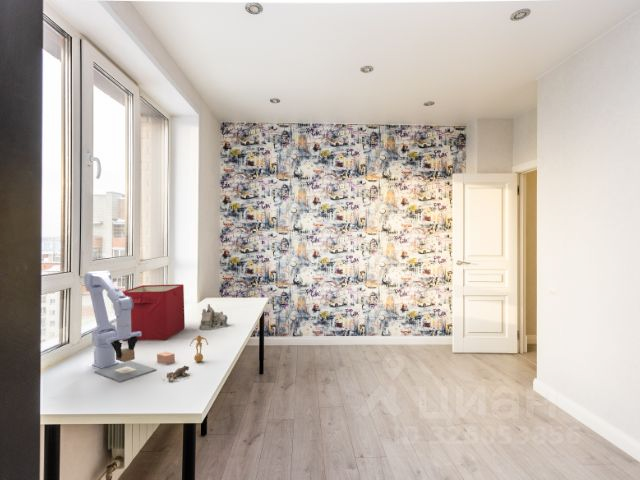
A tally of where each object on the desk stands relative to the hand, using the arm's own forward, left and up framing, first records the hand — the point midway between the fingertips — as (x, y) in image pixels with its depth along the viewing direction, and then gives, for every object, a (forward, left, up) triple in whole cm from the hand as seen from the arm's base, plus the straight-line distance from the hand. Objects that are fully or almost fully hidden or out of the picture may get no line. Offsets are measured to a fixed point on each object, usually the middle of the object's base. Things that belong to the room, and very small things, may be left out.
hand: (125, 356), depth 166 cm
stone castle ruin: (-32, +74, -7) cm, 81 cm away
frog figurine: (+26, +8, -8) cm, 28 cm away
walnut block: (0, 0, -2) cm, 2 cm away
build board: (0, 0, -7) cm, 7 cm away
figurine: (+17, +26, -7) cm, 32 cm away
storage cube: (-49, +44, -7) cm, 66 cm away
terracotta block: (+4, +17, -7) cm, 19 cm away
